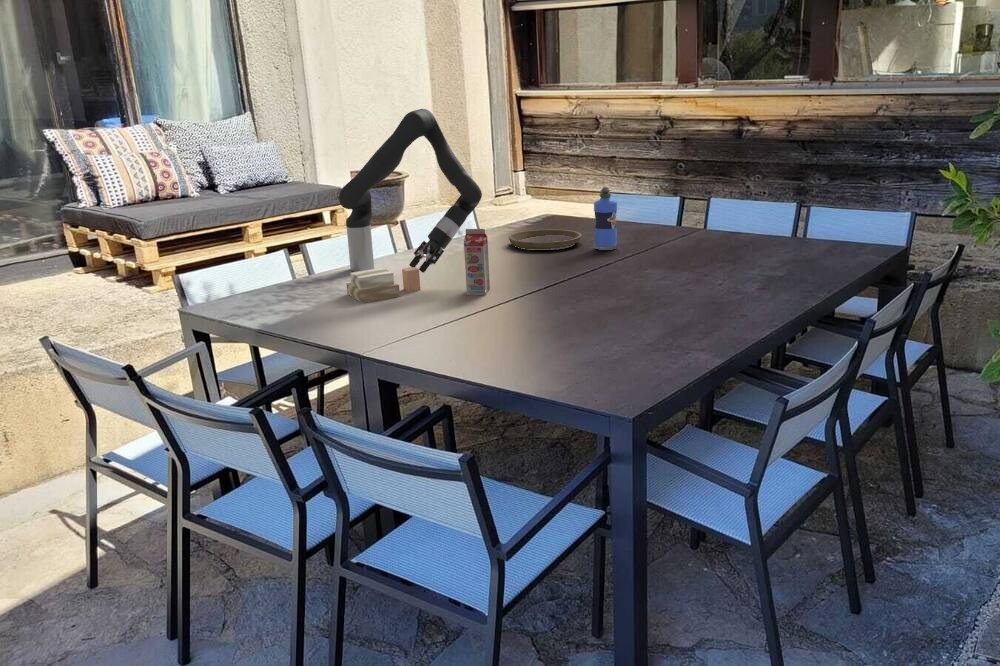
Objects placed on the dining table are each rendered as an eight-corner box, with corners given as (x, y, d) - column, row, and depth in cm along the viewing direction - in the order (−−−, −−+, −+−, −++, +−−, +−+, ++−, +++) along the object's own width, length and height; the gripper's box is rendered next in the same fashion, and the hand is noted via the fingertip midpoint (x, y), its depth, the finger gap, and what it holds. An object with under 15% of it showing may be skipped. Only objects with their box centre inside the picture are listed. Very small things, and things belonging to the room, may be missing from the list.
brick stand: (347, 294, 305) (345, 272, 303) (384, 288, 311) (383, 266, 309) (361, 302, 293) (359, 279, 291) (400, 296, 300) (398, 273, 297)
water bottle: (590, 249, 359) (589, 188, 352) (601, 245, 366) (600, 185, 359) (610, 251, 354) (610, 189, 346) (621, 247, 361) (621, 186, 354)
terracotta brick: (403, 289, 309) (402, 268, 307) (415, 287, 311) (413, 266, 309) (408, 292, 305) (407, 271, 303) (420, 290, 307) (418, 269, 305)
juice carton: (471, 289, 304) (467, 227, 298) (489, 290, 303) (486, 227, 296) (466, 294, 298) (463, 230, 291) (485, 295, 296) (482, 230, 290)
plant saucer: (545, 235, 394) (545, 225, 392) (597, 243, 372) (596, 233, 370) (493, 247, 374) (493, 236, 373) (545, 256, 352) (545, 245, 351)
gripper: (427, 223, 313) (400, 259, 311) (445, 228, 301) (416, 266, 299) (442, 236, 316) (415, 271, 315) (459, 242, 304) (432, 279, 303)
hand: (416, 269), depth 307 cm, fingers open, 8 cm apart
